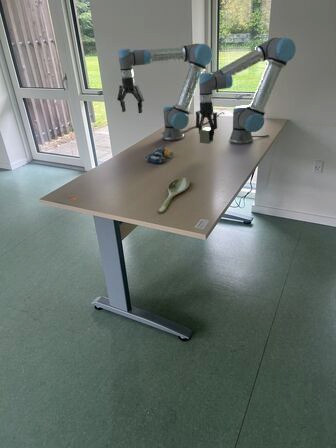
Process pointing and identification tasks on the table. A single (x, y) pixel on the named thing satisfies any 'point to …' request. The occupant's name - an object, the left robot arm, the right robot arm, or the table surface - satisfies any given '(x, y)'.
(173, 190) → the spoon
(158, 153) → the blue toy gun
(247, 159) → the table surface
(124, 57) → the left robot arm
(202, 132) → the grey metal block
